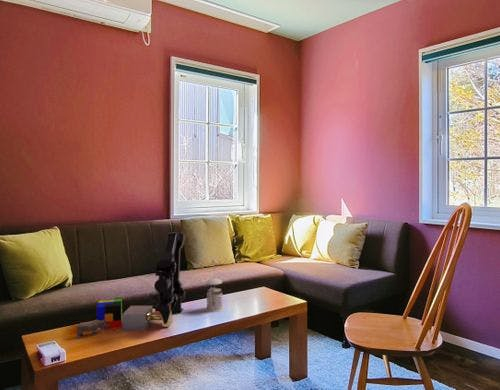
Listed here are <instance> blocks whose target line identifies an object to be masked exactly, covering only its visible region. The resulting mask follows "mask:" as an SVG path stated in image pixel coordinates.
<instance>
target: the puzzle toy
mask: <svg viewBox="0 0 500 390" xmlns="http://www.w3.org/2000/svg"><path fill="white" fill-rule="evenodd" d="M122 302H123V299H122V298H119V299H118V298H116V299H104V300H103V299H101V300H98V303H97V304H96V320H100V321H103V319H104V322H106V323H104V324H107V325H109V323H110V325H109V326H108V327H107V329H106V330H109V329H118V328H119V329H120V328H122V314H123V303H122ZM100 330H102V329H101V328H100V327H99V328H98V329H96V331H100Z"/></svg>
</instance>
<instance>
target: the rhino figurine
mask: <svg viewBox="0 0 500 390" xmlns="http://www.w3.org/2000/svg"><path fill="white" fill-rule="evenodd" d="M104 323H106V322H104V319H103V321H100V320H97V319H94V320H91V321H84V322H80V323H79V324H78V325H77V330H76V331H77V333H76V339H81V337H84V335H85V334H84V332H86V333H90V332H91V336H96V334H97V329H98V328H99V327H100V328H101V330H103V331H106V330H108V329H107V327H108V326H109V325H110V323H109V325H107V324H104Z"/></svg>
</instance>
